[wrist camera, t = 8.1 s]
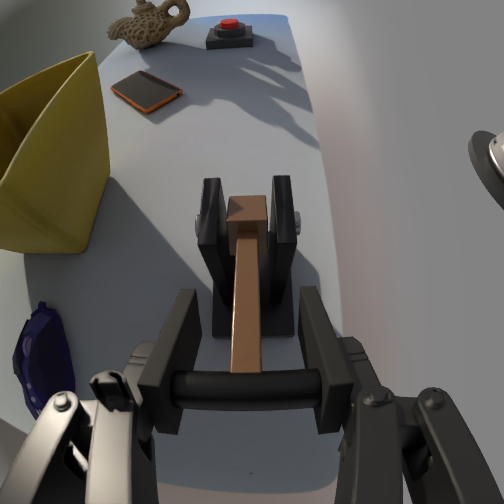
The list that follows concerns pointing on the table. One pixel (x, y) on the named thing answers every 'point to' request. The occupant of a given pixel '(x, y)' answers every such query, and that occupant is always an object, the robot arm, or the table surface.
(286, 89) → the table surface
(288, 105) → the table surface
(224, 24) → the power button
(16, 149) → the flower pot
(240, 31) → the control block
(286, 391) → the switch lever
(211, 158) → the table surface
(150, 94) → the smartphone
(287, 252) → the switch bracket
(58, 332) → the computer mouse
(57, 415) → the robot arm
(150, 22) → the teapot
